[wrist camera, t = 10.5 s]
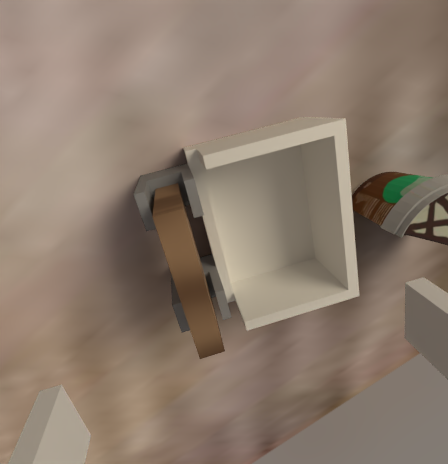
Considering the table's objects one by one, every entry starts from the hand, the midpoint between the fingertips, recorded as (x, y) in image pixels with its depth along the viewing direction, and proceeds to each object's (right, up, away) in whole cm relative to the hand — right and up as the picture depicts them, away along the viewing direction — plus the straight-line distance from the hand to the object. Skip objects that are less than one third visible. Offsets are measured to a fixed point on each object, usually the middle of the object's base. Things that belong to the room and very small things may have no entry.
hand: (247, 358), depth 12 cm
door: (-4, +3, +18) cm, 19 cm away
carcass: (+1, +6, +22) cm, 22 cm away
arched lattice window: (+18, +10, +24) cm, 31 cm away
